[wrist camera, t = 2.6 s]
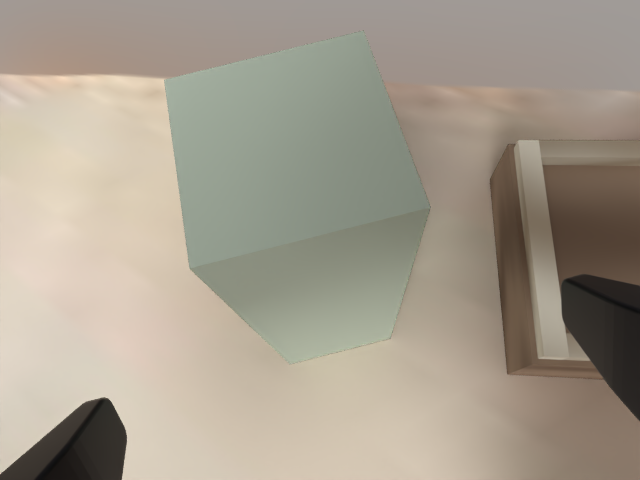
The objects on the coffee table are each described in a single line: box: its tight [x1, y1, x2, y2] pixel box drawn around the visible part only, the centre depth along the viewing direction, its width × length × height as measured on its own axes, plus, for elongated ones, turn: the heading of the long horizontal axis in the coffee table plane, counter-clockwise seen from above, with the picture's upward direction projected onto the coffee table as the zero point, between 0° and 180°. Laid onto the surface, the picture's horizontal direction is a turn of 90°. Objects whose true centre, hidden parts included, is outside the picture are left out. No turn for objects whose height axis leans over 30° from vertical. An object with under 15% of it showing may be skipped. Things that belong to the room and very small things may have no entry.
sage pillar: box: [164, 31, 431, 364], centre depth 15 cm, size 4×4×12 cm
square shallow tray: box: [490, 140, 640, 379], centre depth 18 cm, size 9×9×4 cm
